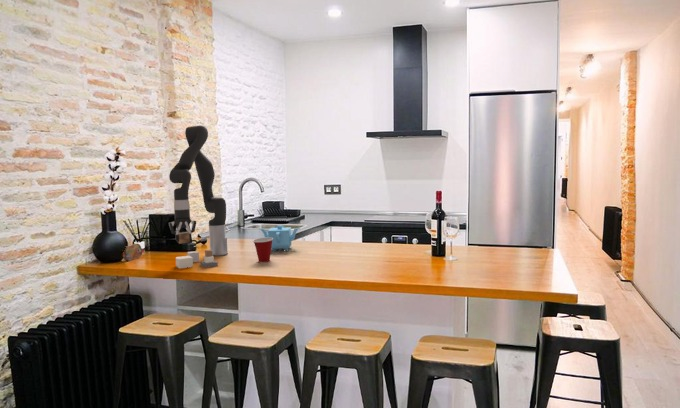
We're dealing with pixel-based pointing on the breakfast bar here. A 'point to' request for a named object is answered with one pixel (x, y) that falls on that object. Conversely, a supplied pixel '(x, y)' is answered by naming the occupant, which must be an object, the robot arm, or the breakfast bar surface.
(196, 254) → the grey cube
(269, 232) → the teakettle
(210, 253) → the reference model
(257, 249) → the plastic cup
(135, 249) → the stone slab
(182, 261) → the base block
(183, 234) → the walnut cube
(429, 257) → the breakfast bar surface
